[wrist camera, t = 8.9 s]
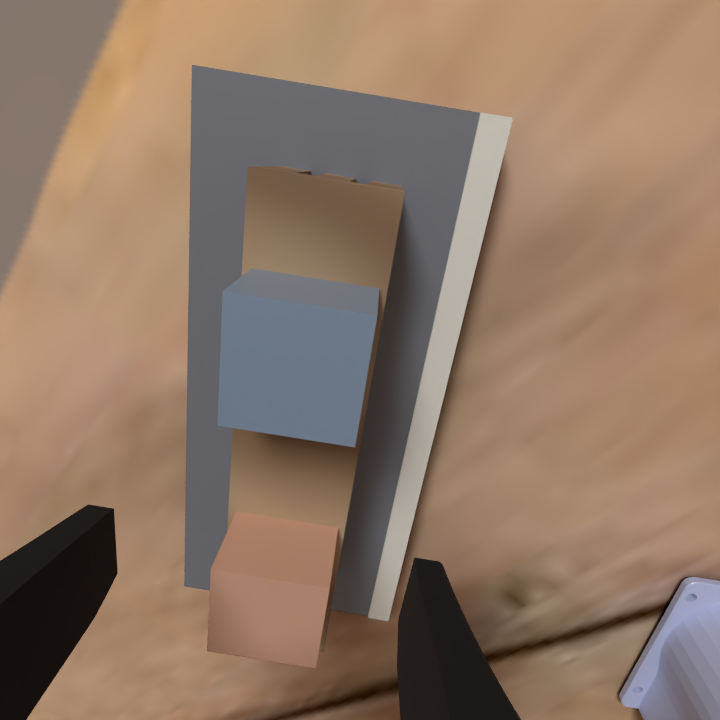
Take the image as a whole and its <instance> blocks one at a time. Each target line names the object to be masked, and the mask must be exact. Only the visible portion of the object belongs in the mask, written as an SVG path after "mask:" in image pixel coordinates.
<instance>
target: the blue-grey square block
mask: <svg viewBox="0 0 720 720" xmlns="http://www.w3.org/2000/svg"><path fill="white" fill-rule="evenodd" d="M379 290H380V289H379V288H373V287H367V286H361V285H354V284H348V283H342V282H336V281H329V280H323V279H317V278H311V277H304V276H298V275H292V274H286V273H279V272H273V271H267V270H261V269H254V268H252V269H250V270H249V271H248V272H247V273H245V274H244V275H243V276H241V277H240V278H239V279H237V280H236V281H235V282H234V283H232V284H231V285H230V286H228V287H227V288H226V289H225V290H223V294H222V320H221V346H220V372H219V399H218V425H217V426H223V427H229V428H236V429H242V430H248V431H254V432H261V433H267V434H273V435H280V436H286V437H292V438H299V439H305V440H311V441H317V442H324V443H330V444H336V445H343V446H349V447H355V445H356V439H357V433H358V427H359V421H360V415H361V409H362V404H363V398H364V392H365V386H366V380H367V374H368V368H369V362H370V356H371V350H372V345H373V339H374V333H375V327H376V321H377V314H378V302H379Z"/></svg>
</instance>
